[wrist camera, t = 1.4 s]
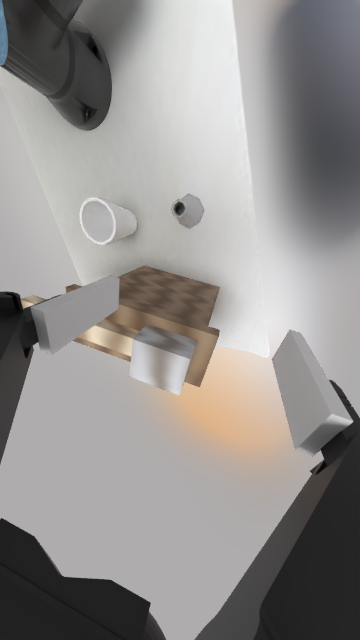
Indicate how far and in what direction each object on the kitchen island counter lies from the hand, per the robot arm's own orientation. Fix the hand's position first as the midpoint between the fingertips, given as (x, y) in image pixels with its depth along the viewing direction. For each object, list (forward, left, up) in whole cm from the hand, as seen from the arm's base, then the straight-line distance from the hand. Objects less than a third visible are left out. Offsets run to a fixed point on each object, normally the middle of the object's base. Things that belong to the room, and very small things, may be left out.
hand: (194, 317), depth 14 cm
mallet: (+17, -13, -13) cm, 25 cm away
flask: (-5, -13, -41) cm, 43 cm away
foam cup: (+4, -29, -41) cm, 50 cm away
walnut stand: (+16, -8, -41) cm, 45 cm away
